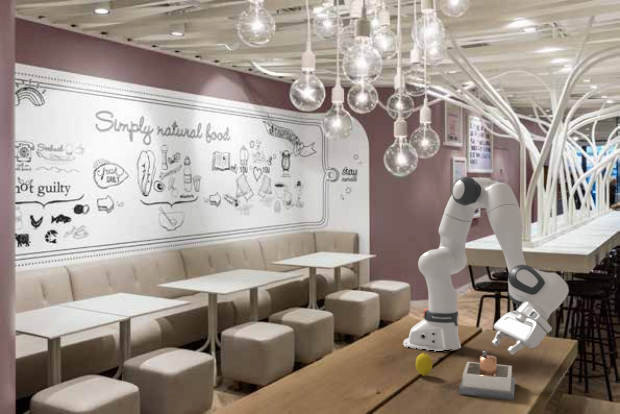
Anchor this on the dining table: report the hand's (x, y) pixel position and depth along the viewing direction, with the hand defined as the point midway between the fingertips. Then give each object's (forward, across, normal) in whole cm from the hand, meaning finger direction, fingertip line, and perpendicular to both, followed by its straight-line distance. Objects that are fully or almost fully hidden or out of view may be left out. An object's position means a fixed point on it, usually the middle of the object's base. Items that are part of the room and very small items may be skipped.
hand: (501, 348), depth 194 cm
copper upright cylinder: (+11, 0, +4) cm, 12 cm away
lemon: (+23, -16, -5) cm, 28 cm away
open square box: (+12, 0, +5) cm, 13 cm away
